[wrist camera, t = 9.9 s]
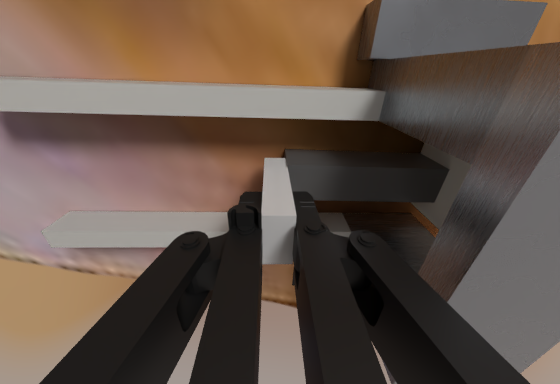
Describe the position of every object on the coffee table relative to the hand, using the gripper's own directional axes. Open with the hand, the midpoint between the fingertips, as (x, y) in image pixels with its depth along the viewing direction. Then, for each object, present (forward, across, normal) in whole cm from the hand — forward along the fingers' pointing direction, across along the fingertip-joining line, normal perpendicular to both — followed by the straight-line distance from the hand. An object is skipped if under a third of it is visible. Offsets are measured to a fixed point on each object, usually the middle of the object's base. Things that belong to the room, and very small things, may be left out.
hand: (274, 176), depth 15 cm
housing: (+1, +9, 0) cm, 9 cm away
